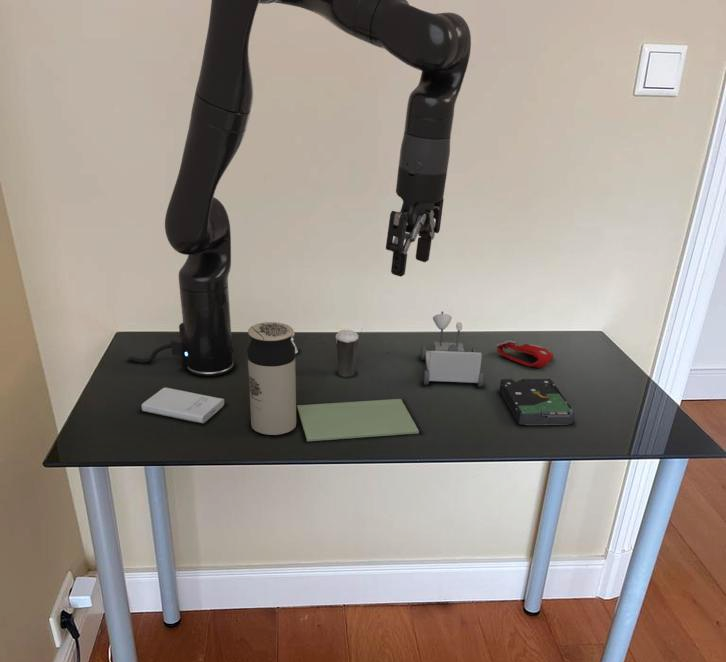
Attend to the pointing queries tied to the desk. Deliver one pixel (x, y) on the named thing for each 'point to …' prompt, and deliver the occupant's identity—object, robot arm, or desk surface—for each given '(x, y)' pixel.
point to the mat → (355, 420)
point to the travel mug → (272, 378)
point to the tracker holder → (530, 349)
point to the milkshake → (346, 351)
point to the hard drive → (183, 405)
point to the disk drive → (536, 402)
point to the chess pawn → (293, 342)
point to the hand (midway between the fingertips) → (409, 267)
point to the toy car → (451, 359)
